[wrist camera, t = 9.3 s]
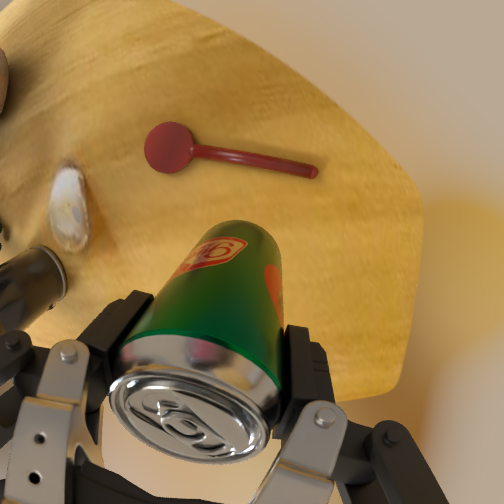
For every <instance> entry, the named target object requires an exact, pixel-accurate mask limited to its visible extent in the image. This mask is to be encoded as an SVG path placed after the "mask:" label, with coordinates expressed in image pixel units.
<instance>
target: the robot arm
mask: <svg viewBox="0 0 504 504" xmlns="http://www.w3.org/2000/svg"><path fill="white" fill-rule="evenodd" d="M66 290H67V280H66V275H65V272H64V269H63V267H62V265H61V263H60V261H59V260H58V258H57V257H56V255H55V254H54V253H53V252H52V251H51V250H50V249H48V248H47V247H45V246H42V245H37V246H34V247H32V248H31V249H29V250H26V251H24V252H22V253H21V254H19V255H17V256H15V257H14V258H12V259H10V260H8V261H7V262H5V263H3V264H1V265H0V386H1V385H3V384H4V383H5V382H7V381H8V380H9V379H11V380H12V382H13V384H14V386H13V387H11V388H10V389H9V390H8V391H6V392H5V393H4V394H2V395H1V396H0V449H1V448H2V447H3V446H4V445H5V444H6V443H7V442H8V441H9V440H11V439H12V438H13V439H12V444H11V450H10V455H9V461H8V467H7V474H6V479H2V480H0V504H222V503H216V502H211V501H205V500H201V499H178V498H163V497H156V496H153V495H151V494H149V493H148V492H146V491H144V490H142V489H141V488H139V487H137V486H136V485H134V484H133V483H131V482H129V481H128V480H126V479H125V478H123V477H122V476H120V475H119V474H116V473H114V472H112V471H109V470H107V469H105V467H104V461H103V458H102V452H101V443H102V423H103V403H102V402H103V401H104V399H105V397H106V396H109V390H110V386H111V384H112V382H113V381H114V379H113V373H112V362H113V358H114V355H115V352H116V351H117V349H118V347H119V346H120V344H121V343H122V342H123V340H124V339H125V337H126V336H127V335H128V333H129V332H130V330H131V329H132V328H133V326H134V325H135V324H136V322H137V321H138V320H139V318H140V317H141V315H142V314H143V313H144V311H145V310H146V309H147V307H148V306H149V305H150V303H151V302H152V301H153V299H154V296H153V295H152V294H149V293H145V292H141V291H137V290H133V291H132V292H131V294H130V295H129V296H128V297H127V298H126V299H125V300H123V299H118V300H116V301H114V302H112V303H110V304H109V305H108V306H107V307H106V308H105V309H104V310H103V311H102V313H100V314H99V315H98V316H97V317H96V319H94V320H93V322H92V323H91V324H90V325H89V326H88V327H87V328H86V329H85V330H84V331H83V332H82V334H81V335H80V336H79V337H78V338H77V339H76V340H71V339H69V340H63V341H60V342H58V343H56V344H55V345H54V346H53V347H52V348H51V349H49V348H43V347H38V346H33V345H32V342H31V338H30V336H29V335H28V334H27V333H26V332H24V330H26V329H27V328H28V327H29V326H30V325H31V324H32V323H33V322H34V321H36V320H37V319H38V318H39V317H40V316H41V315H42V314H44V313H45V312H46V311H48V310H50V309H52V308H53V307H54V306H53V305H54V304H55V303H56V302H58V301H60V300H61V299H62V298H63V297H64V296H65V294H66ZM52 306H53V307H52ZM55 306H56V305H55ZM284 349H285V408H284V412H283V415H282V417H281V419H280V421H279V422H278V423H277V425H276V426H275V427H274V428H273V434H272V435H273V436H272V438H273V439H281V449H280V451H279V452H278V454H277V456H276V458H275V460H274V461H273V463H272V465H271V467H270V469H269V470H268V472H267V474H266V476H265V477H264V479H263V481H262V483H261V484H260V486H259V487H258V489H257V491H256V492H255V494H254V495H253V497H252V499H251V500H250V501H249V503H248V504H328V502H329V499H330V497H331V494H332V491H333V488H334V481H335V482H336V485H337V487H338V490H339V493H340V496H341V498H342V501H343V504H449V502H448V501H447V499H446V497H445V495H444V493H443V491H442V489H441V488H440V486H439V484H438V482H437V480H436V478H435V476H434V475H433V473H432V471H431V469H430V468H429V466H428V464H427V462H426V461H425V459H424V457H423V455H422V454H421V452H420V450H419V448H418V447H417V445H416V443H415V441H414V440H413V438H412V436H411V434H410V433H409V431H408V430H407V429H406V428H405V427H404V426H403V425H402V424H400V423H398V422H395V421H391V420H386V421H381V422H379V423H378V424H377V425H376V426H375V427H374V428H370V427H366V426H363V425H359V424H356V423H353V422H351V421H349V420H348V419H347V416H346V414H345V413H344V411H343V410H342V409H341V408H340V407H339V406H338V405H336V404H335V399H334V393H333V388H332V382H331V377H330V373H329V366H328V364H327V363H328V361H327V356H326V352H325V351H324V349H323V348H322V347H321V345H320V344H319V343H317V342H310V338H309V331H308V328H306V327H300V326H294V325H287V328H286V330H285V334H284Z"/></svg>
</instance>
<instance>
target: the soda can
mask: <svg viewBox="0 0 504 504" xmlns="http://www.w3.org/2000/svg"><path fill="white" fill-rule="evenodd" d="M112 373H113V379H114V381H113V382H112V384H111V386H110V390H109V402H110V406H111V409H112V411H113V413H114V415H115V416H116V418H117V419H118V421H119V422H120V423H121V424H122V425H123V427H124V428H125V429H126V430H127V431H129V432H130V433H131V434H132V435H133V436H134V437H136V438H137V439H138V440H140V441H141V442H143V443H144V444H146V445H148V446H149V447H151V448H153V449H155V450H157V451H159V452H161V453H164V454H166V455H169V456H171V457H174V458H178V459H181V460H184V461H189V462H194V463H199V464H209V465H210V464H211V465H223V464H233V463H238V462H242V461H245V460H248V459H250V458H253V457H255V456H256V455H258V454H259V453H260V452H262V451H263V449H264V448H265V447H266V445H267V443H268V441H269V439H270V433H271V430H272V429H273V428H274V427H275V426H276V425H277V423H278V422H279V421H280V419H281V417H282V415H283V412H284V408H285V349H284V314H283V287H282V264H281V254H280V251H279V248H278V246H277V243H276V242H275V240H274V239H273V237H272V236H271V235H270V234H269V233H268V232H267V231H266V230H264V229H263V228H262V227H260V226H258V225H256V224H254V223H251V222H248V221H243V220H231V221H226V222H222V223H220V224H217V225H215V226H214V227H212V228H211V229H209V230H208V231H207V232H206V233H205V234H204V236H203V237H202V238H201V239H200V241H199V242H198V243H197V244H196V246H195V247H194V248H193V249H192V251H191V252H190V253H189V254H188V256H187V257H186V258H185V259H184V261H183V262H182V263H181V264H180V266H179V267H178V268H177V269H176V271H175V272H174V273H173V275H172V276H171V277H170V278H169V280H168V281H167V282H166V284H165V285H164V286H163V288H162V289H161V290H160V291H159V293H158V294H157V295H156V297H155V298H154V299H153V301H152V302H151V303H150V305H149V306H148V307H147V309H146V310H145V311H144V313H143V314H142V315H141V317H140V318H139V320H138V321H137V322H136V324H135V325H134V326H133V328H132V329H131V330H130V332H129V333H128V335H127V336H126V337H125V339H124V340H123V342H122V343H121V344H120V346H119V347H118V349H117V351H116V352H115V355H114V358H113V362H112Z"/></svg>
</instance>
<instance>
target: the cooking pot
mask: <svg viewBox="0 0 504 504" xmlns="http://www.w3.org/2000/svg"><path fill="white" fill-rule="evenodd" d="M8 79H9V69H8V62H7V58H6V56H5V53H4V52H3V50H2V49H1V48H0V115H1V112H2V109H3V106H4V103H5V99H6V94H7V88H8Z"/></svg>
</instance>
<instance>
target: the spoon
mask: <svg viewBox="0 0 504 504" xmlns="http://www.w3.org/2000/svg"><path fill="white" fill-rule="evenodd" d="M144 150H145V156H146V159H147V161H148V163H149V164H150V166H151V167H152V168H153V169H155V170H156V171H158V172H161V173H167V174H168V173H174V172H178V171H180V170H182V169H183V168H185V167H186V166H187V165H188V164H189V163H190V161H191V160H192V158H193V157H195V158H202V159H209V160H215V161H222V162H228V163H234V164H240V165H246V166H251V167H256V168H262V169H267V170H272V171H277V172H282V173H287V174H291V175H296V176H300V177H305V178H309V179H313V178H315V177H317V175H318V169H317V168H316V167H315V166H313V165H309V164H305V163H301V162H296V161H291V160H287V159H282V158H277V157H272V156H267V155H262V154H256V153H251V152H245V151H239V150H233V149H226V148H220V147H213V146H206V145H198V144H195V141H194V137H193V135H192V133H191V132H190V130H189V129H188V128H187V127H185V126H184V125H182V124H179V123H176V122H165V123H162V124H159V125H158V126H156V127H155V128H154V129H153V130H152V131H151V132H150V133H149V135H148V137H147V139H146V142H145V148H144Z"/></svg>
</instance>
